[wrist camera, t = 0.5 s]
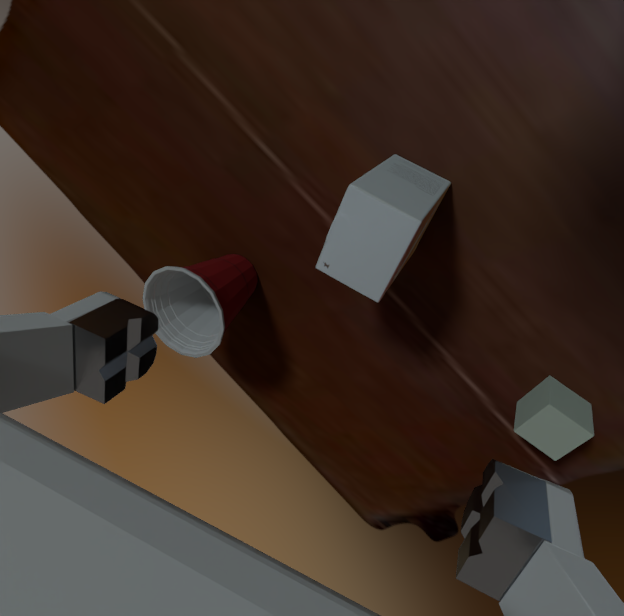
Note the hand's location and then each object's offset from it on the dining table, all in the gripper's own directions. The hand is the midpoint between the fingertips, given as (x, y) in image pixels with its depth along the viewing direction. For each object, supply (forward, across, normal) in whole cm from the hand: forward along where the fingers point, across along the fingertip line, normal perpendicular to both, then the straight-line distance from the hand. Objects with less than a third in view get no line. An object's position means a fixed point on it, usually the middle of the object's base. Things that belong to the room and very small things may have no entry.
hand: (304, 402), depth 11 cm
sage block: (+40, -18, +20) cm, 48 cm away
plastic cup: (+42, +22, +19) cm, 51 cm away
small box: (+39, +4, +4) cm, 40 cm away
